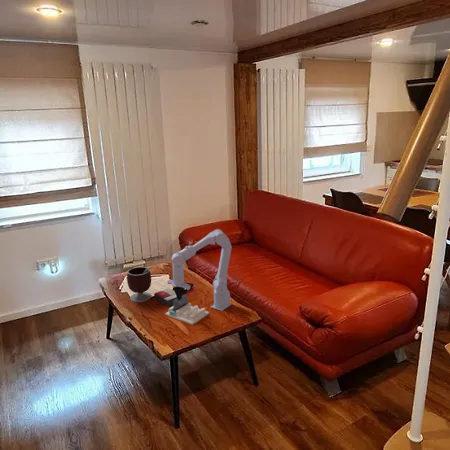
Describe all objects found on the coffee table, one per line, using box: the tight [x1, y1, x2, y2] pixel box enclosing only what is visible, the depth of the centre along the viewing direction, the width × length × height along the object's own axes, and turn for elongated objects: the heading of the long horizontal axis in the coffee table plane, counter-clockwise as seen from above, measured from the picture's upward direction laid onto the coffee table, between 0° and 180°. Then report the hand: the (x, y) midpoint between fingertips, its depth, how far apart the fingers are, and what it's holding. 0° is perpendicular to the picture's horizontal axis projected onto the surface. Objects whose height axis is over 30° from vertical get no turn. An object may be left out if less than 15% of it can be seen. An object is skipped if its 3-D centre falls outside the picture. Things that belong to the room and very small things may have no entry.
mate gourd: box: [126, 266, 153, 303], centre depth 228 cm, size 16×14×20 cm
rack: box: [164, 302, 210, 326], centre depth 210 cm, size 14×19×4 cm
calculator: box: [153, 288, 177, 307], centre depth 228 cm, size 11×4×15 cm
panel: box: [172, 294, 189, 313], centre depth 212 cm, size 9×2×7 cm, turn 145°
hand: (179, 298), depth 211 cm, fingers closed, pressing on panel
